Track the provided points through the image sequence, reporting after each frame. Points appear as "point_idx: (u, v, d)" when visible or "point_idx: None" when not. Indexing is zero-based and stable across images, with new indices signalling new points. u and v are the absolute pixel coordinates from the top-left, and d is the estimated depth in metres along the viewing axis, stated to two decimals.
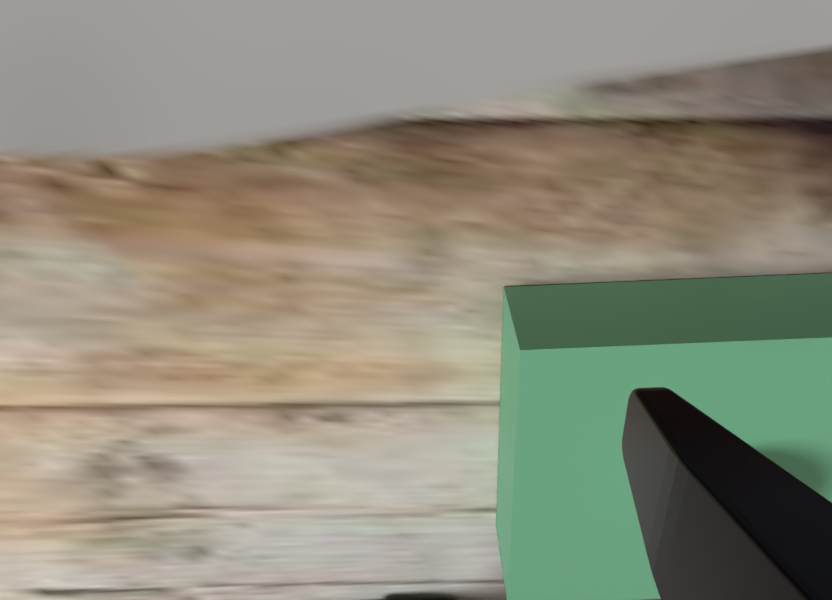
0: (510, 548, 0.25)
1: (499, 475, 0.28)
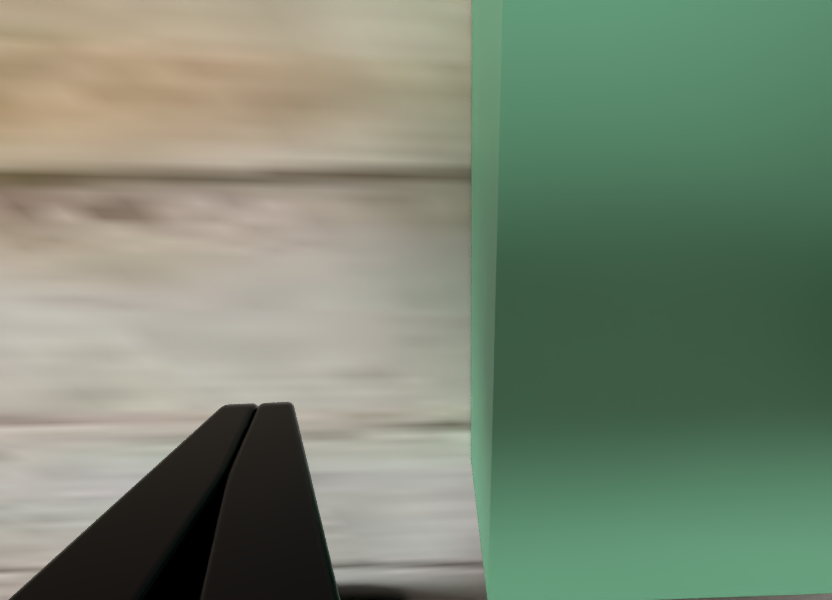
0: (490, 478, 0.11)
1: (473, 343, 0.14)
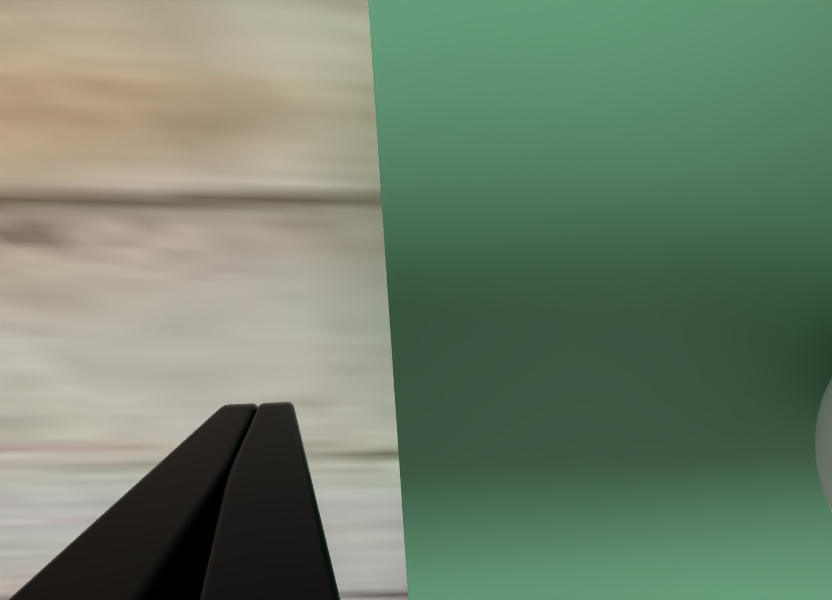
0: (403, 522, 0.10)
1: None
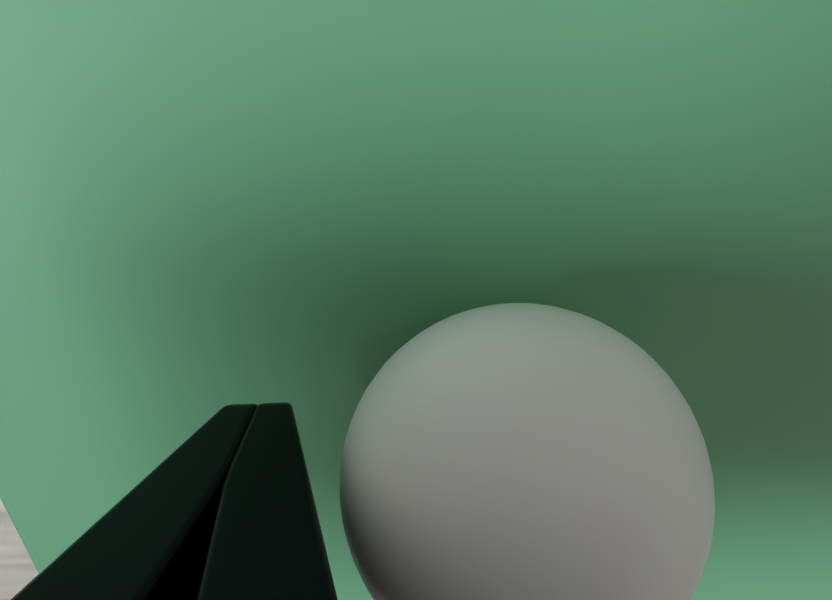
0: (21, 535, 0.11)
1: None
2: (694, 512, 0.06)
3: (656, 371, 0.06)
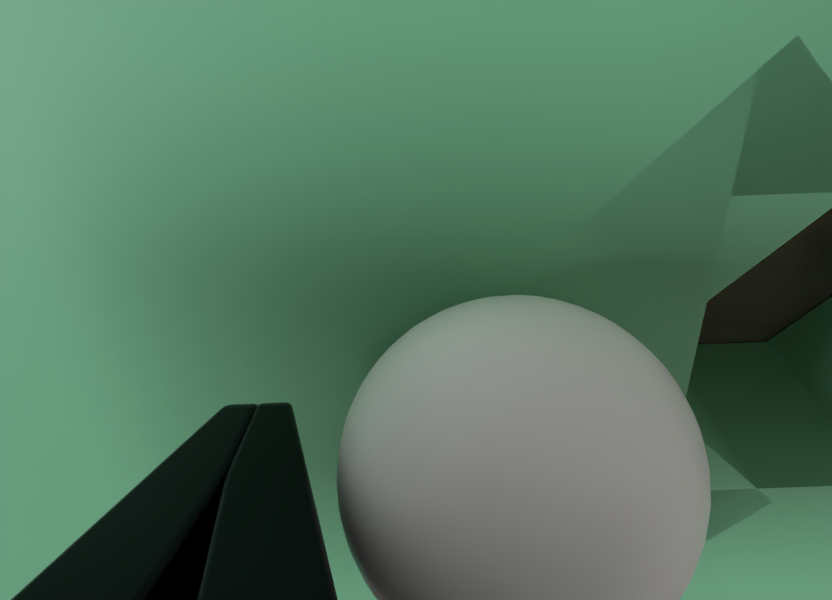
0: None
1: None
2: (609, 556, 0.05)
3: (647, 406, 0.06)
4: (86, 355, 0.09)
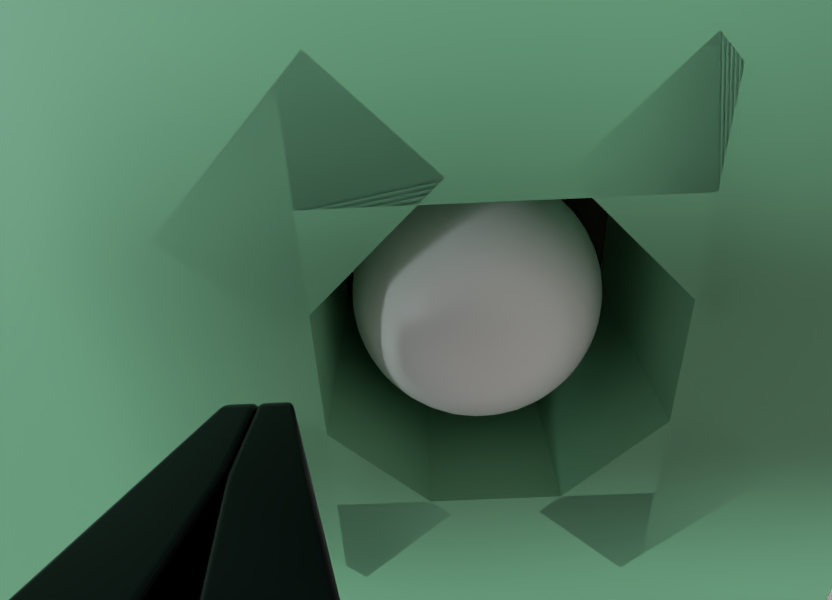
0: None
1: None
2: (594, 248, 0.10)
3: None
4: None
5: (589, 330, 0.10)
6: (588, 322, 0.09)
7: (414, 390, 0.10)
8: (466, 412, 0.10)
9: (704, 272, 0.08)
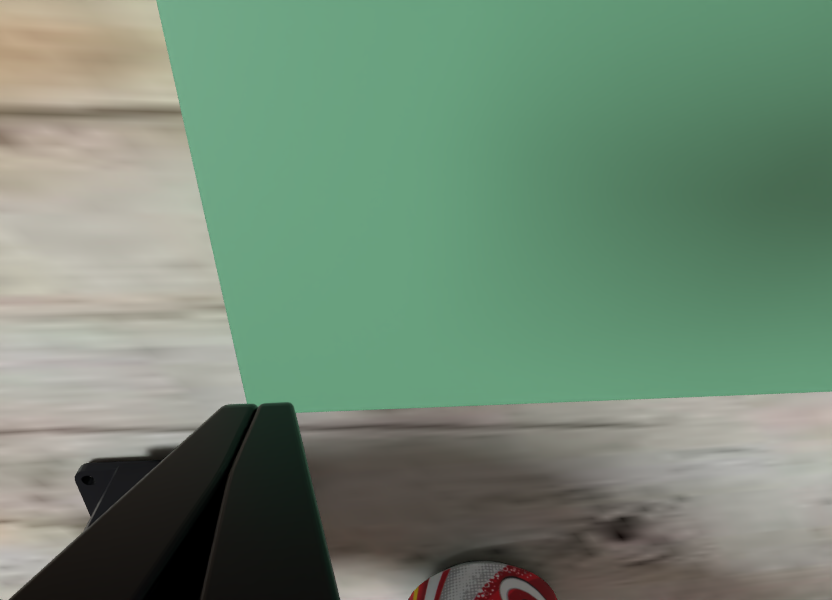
0: (226, 308, 0.16)
1: None
2: None
3: None
4: (602, 157, 0.15)
5: None
6: None
7: None
8: None
9: None
